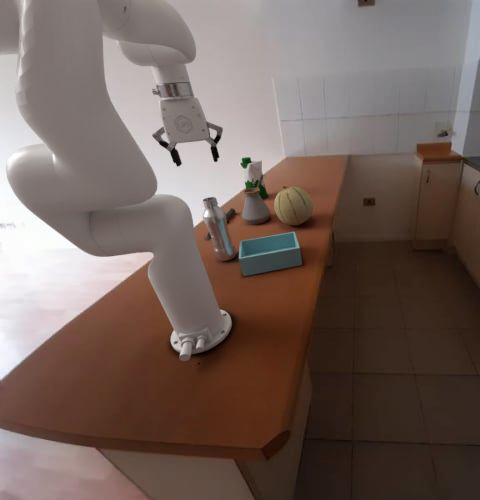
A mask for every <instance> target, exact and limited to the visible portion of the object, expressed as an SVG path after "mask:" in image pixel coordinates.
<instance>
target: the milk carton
mask: <svg viewBox="0 0 480 500" xmlns="http://www.w3.org/2000/svg"><path fill="white" fill-rule="evenodd" d="M238 166H239V168H240V171H241V174H242V177H243V181H244V185H245V190H246V189H249V188H257V185H258V182H259V180H260V177H261V175H262V174H263V160H260V159H251V157H249V156H247V157H242V158H241V161H240V162H239V163H238ZM263 175H264V174H263ZM262 178H263V179H262V182H261V185H260V187H259V189H260V192H259V195H260V197H261V198H262V200H264V199H266V198H268V192H267V188H266V184H265V177H264V176H263V177H262Z"/></svg>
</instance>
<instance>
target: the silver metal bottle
mask: <svg viewBox="0 0 480 500" xmlns="http://www.w3.org/2000/svg"><path fill="white" fill-rule="evenodd" d="M202 204H203V207H204V211H203V212H202V221H203V223H204V225H205V226H206V229H207V230H208V233H210V235H211V237H210V238H211V243H212V246H213V253H214V256H215V258H216V259H217V260H218V261H221V262H227V261H230V260H233V259H234V258H235V257H237V248H236V245H235V243H234V242H233V239H232V238H231V235H230V231H229V227H228V223H227V219H226V212H225V210H223V208H221V207H220V206H218V205H219V203H218V200H217V198H216V197H215V196H209V197H204V198H203V199H202Z"/></svg>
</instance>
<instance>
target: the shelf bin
mask: <svg viewBox="0 0 480 500" xmlns="http://www.w3.org/2000/svg"><path fill="white" fill-rule="evenodd" d="M301 253H302V252H301V247H300V244H299V241H298V237H297V234H296V231H290V232H284V233H279V234H272V235H266V236H262V237H255V238H249V239H242V240H240V241H239V252H238V262H239V265H240V269H241V272H242V275H243V277H246V276H252V275H258V274H262V273H268V272H273V271H278V270H284V269H289V268H293V267H298V266H302V265H303V259H302V254H301Z"/></svg>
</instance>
